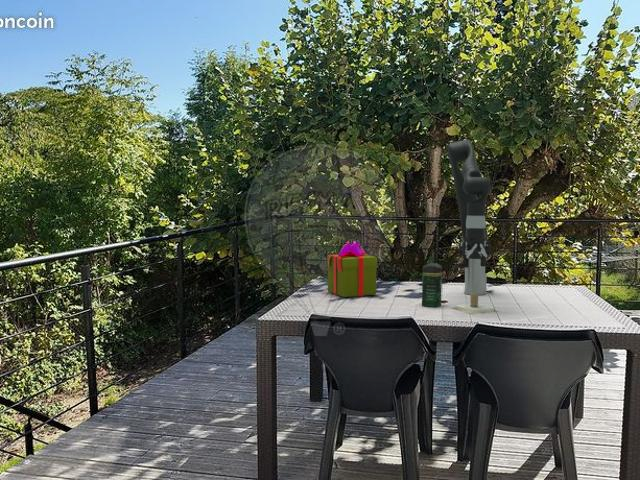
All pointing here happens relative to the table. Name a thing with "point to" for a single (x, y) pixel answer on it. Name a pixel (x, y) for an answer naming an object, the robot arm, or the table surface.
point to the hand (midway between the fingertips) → (474, 266)
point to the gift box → (352, 272)
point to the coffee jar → (432, 285)
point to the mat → (474, 313)
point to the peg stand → (474, 306)
